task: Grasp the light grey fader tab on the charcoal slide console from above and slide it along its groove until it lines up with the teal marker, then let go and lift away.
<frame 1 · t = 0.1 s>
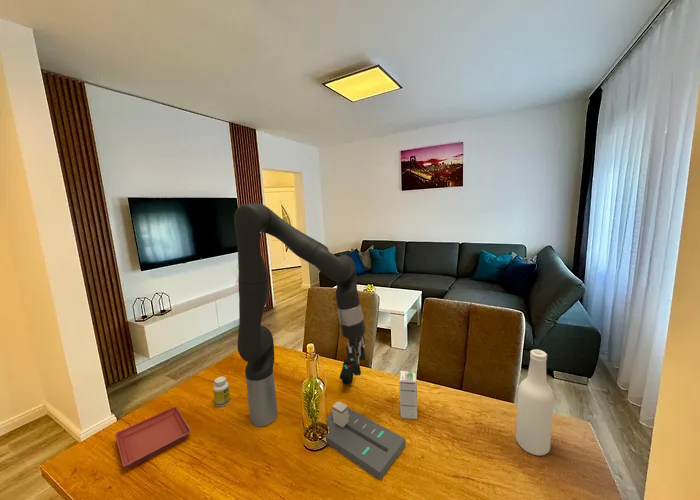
hand: (360, 366, 94), 22 cm above the table, tool pointing down, fingers open, 8 cm apart
supplement bottle: (223, 402, 114), on the table
syrup box: (408, 413, 104), on the table
console: (358, 440, 93), on the table
alcohol: (532, 445, 89), on the table
fader tab: (340, 414, 97), point 6 cm above the table, slide at 0.0 cm
controller: (347, 384, 122), on the table
plant saucer: (154, 441, 97), on the table
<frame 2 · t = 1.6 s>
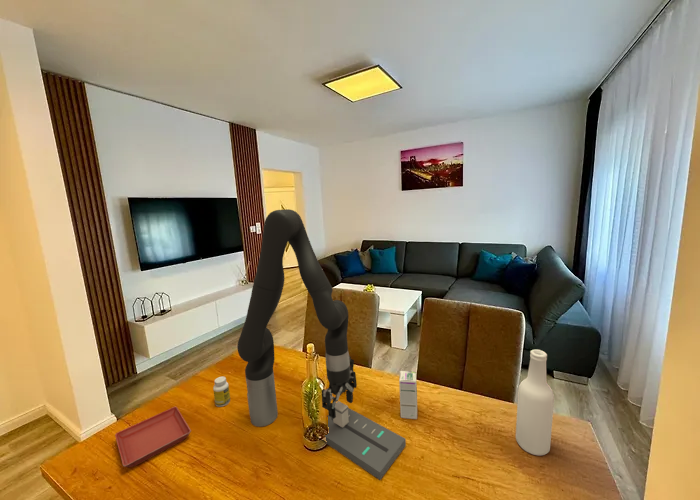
hand: (341, 409, 96), 8 cm above the table, tool pointing down, fingers open, 8 cm apart
nothing on the table moved.
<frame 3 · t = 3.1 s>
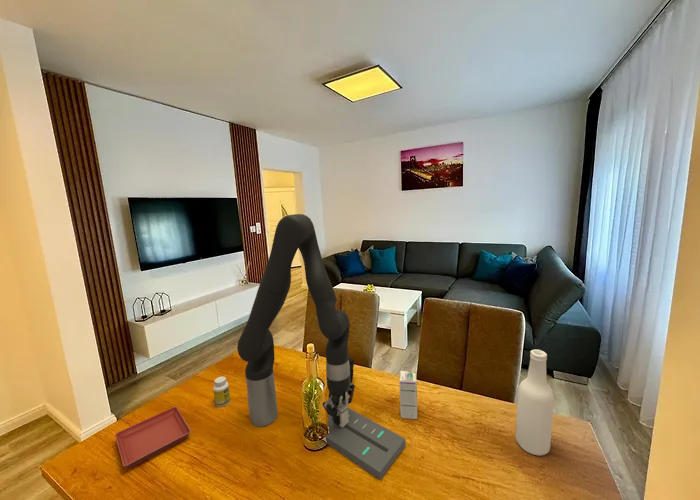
hand: (340, 420, 97), 4 cm above the table, tool pointing down, fingers closed on fader tab, 3 cm apart
fader tab: (340, 414, 97), point 6 cm above the table, slide at 0.0 cm, touching gripper
everything else where it was.
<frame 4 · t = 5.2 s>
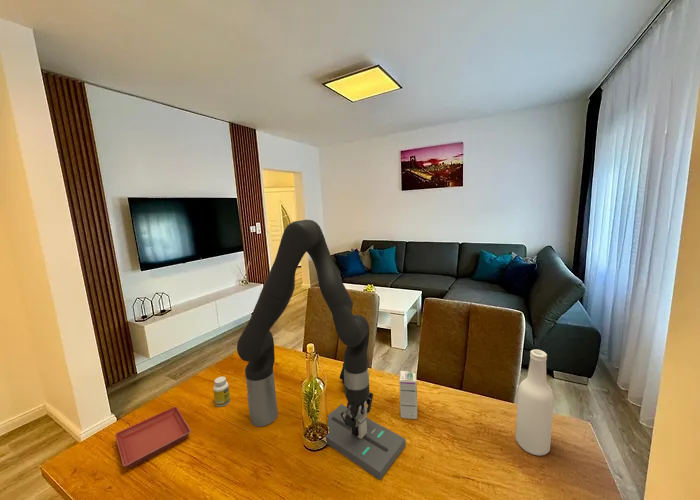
hand: (358, 430, 92), 4 cm above the table, tool pointing down, fingers closed on fader tab, 3 cm apart
fader tab: (358, 424, 92), point 6 cm above the table, slide at 7.5 cm, touching gripper
everything else where it was.
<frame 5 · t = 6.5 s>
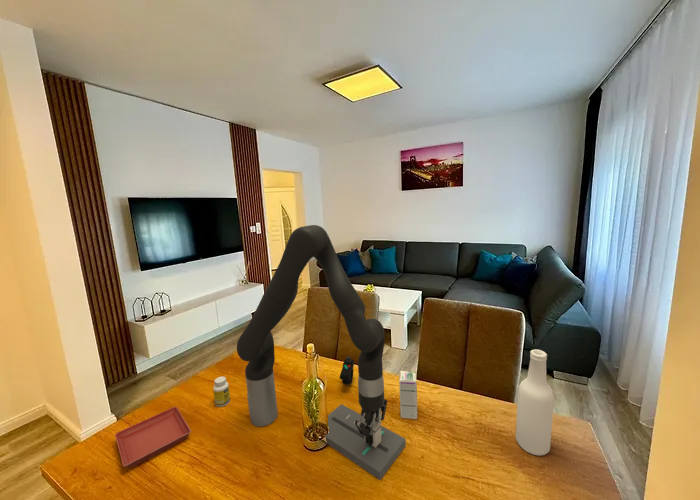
hand: (372, 439, 89), 4 cm above the table, tool pointing down, fingers closed on fader tab, 3 cm apart
fader tab: (372, 432, 88), point 6 cm above the table, slide at 12.9 cm, touching gripper
everything else where it was.
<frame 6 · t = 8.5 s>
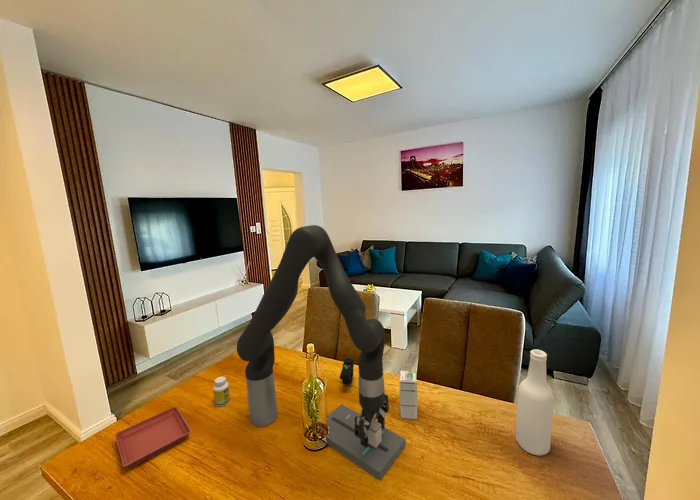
hand: (373, 436, 89), 5 cm above the table, tool pointing down, fingers open, 8 cm apart
fader tab: (373, 432, 88), point 6 cm above the table, slide at 13.0 cm
everything else where it was.
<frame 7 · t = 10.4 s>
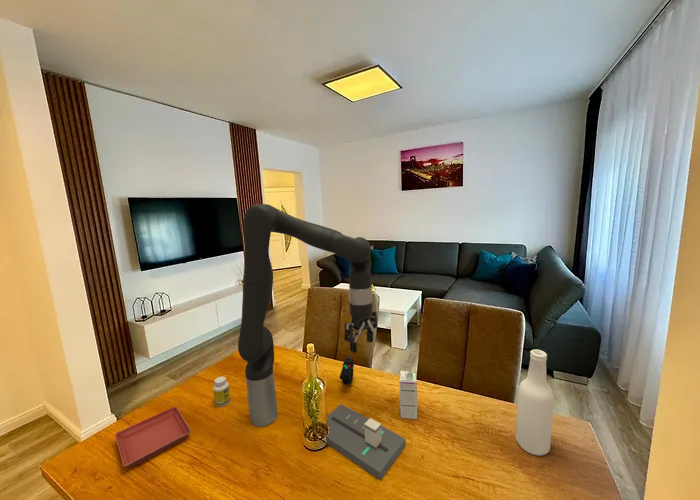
hand: (362, 346, 97), 27 cm above the table, tool pointing down, fingers open, 8 cm apart
nothing on the table moved.
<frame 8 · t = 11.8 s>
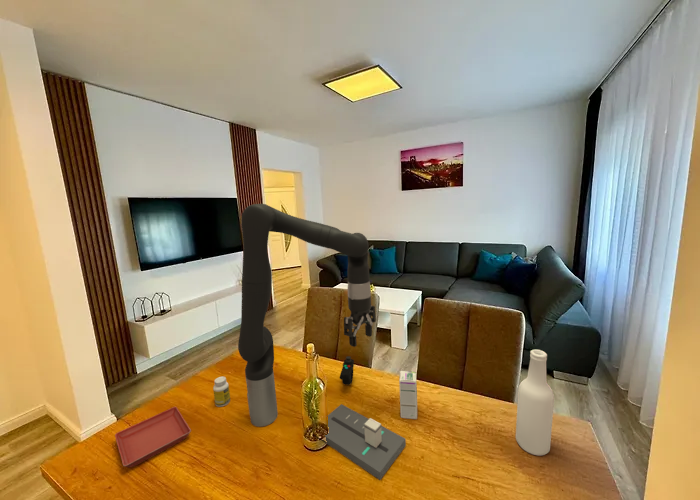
hand: (361, 340, 99), 28 cm above the table, tool pointing down, fingers open, 8 cm apart
nothing on the table moved.
at the end: fader tab slide at 13.0 cm; the gripper is holding nothing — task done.
